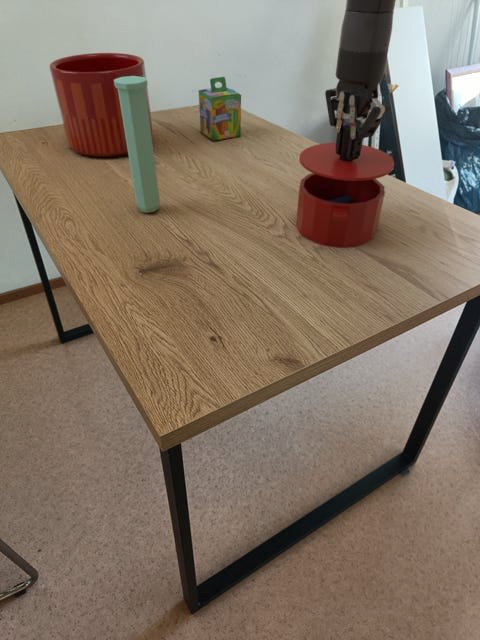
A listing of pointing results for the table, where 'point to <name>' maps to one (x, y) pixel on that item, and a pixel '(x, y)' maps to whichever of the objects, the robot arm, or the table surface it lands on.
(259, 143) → the table surface
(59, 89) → the planter
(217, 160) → the table surface
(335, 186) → the pot
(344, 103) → the robot arm
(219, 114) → the chalk box
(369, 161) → the pot lid
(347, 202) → the tube
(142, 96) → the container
